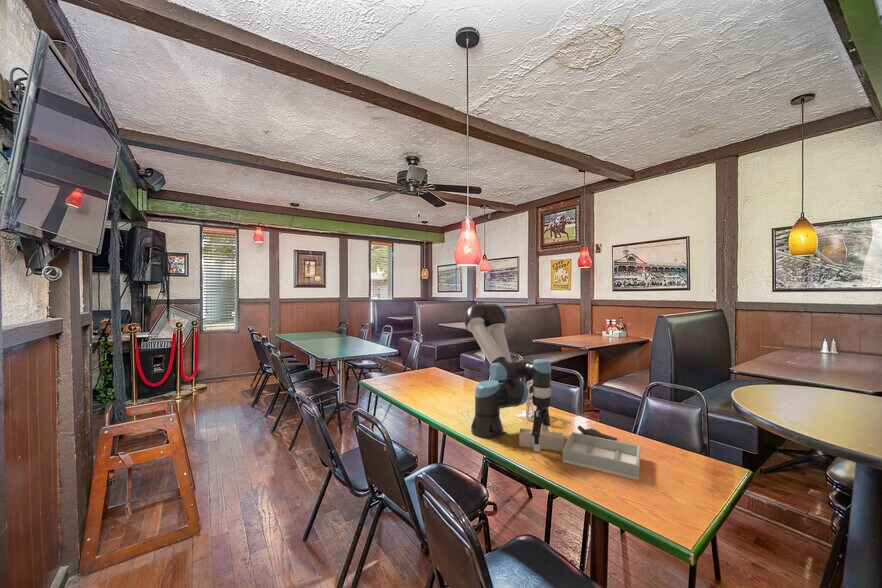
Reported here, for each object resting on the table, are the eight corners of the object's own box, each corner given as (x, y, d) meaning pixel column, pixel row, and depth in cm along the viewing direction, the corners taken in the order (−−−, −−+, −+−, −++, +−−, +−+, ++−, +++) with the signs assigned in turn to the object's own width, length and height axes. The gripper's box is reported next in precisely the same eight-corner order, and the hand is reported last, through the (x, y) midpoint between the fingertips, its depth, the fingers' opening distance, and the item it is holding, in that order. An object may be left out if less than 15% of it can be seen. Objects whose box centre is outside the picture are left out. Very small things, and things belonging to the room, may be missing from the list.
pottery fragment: (619, 442, 158) (620, 432, 158) (604, 448, 151) (604, 437, 151) (590, 431, 170) (590, 422, 170) (574, 435, 164) (574, 426, 164)
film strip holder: (523, 410, 200) (523, 374, 200) (547, 415, 191) (548, 378, 192) (512, 417, 188) (513, 379, 188) (538, 422, 180) (538, 383, 180)
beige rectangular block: (519, 446, 152) (519, 432, 152) (520, 441, 157) (520, 428, 157) (563, 452, 147) (563, 437, 147) (562, 447, 152) (563, 433, 152)
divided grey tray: (562, 461, 138) (562, 448, 138) (572, 443, 155) (572, 432, 155) (638, 480, 124) (638, 466, 124) (640, 458, 142) (640, 445, 142)
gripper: (542, 404, 139) (542, 459, 139) (557, 390, 161) (556, 437, 160) (524, 401, 143) (523, 454, 143) (540, 388, 164) (540, 434, 164)
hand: (541, 445), depth 152 cm, fingers open, 12 cm apart
